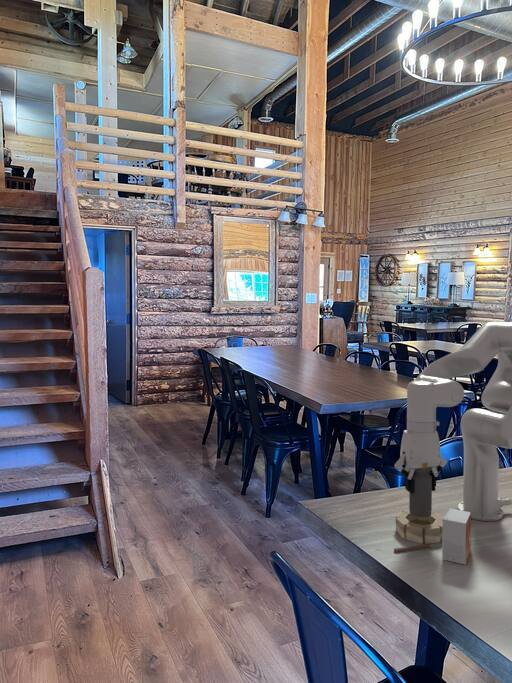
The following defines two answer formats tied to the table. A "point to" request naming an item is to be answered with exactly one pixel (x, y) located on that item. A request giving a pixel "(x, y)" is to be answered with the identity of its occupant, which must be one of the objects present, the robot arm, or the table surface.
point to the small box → (456, 536)
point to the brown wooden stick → (412, 548)
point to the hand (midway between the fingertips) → (420, 489)
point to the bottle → (421, 492)
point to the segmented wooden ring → (419, 527)
